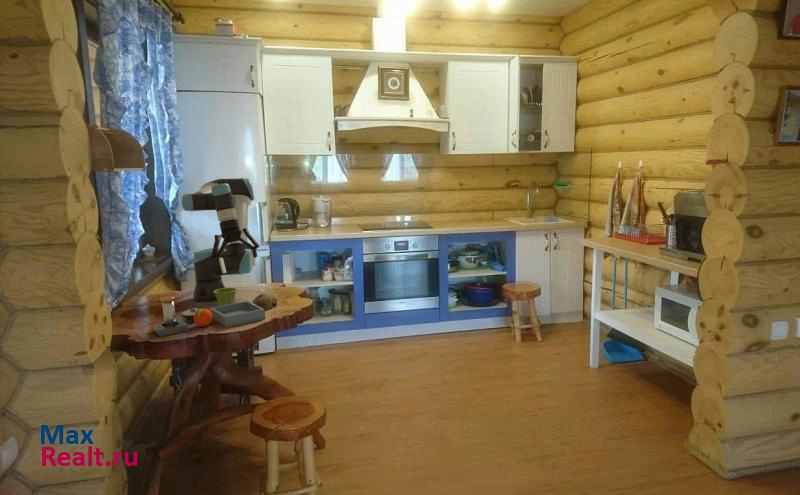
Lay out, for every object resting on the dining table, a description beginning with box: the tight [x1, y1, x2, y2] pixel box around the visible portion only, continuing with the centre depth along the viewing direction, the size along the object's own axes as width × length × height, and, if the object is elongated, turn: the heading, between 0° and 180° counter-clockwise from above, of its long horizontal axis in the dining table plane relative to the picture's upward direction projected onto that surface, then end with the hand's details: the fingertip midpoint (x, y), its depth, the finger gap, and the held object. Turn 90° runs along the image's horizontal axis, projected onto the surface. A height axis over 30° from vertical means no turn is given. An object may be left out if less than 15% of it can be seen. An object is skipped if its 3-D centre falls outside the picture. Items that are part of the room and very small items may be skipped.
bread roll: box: [251, 292, 278, 310], centre depth 213 cm, size 10×10×8 cm
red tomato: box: [193, 307, 214, 327], centre depth 188 cm, size 8×7×7 cm
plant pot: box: [214, 287, 238, 306], centre depth 211 cm, size 9×9×9 cm
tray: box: [209, 300, 266, 328], centre depth 198 cm, size 18×16×4 cm
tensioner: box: [153, 307, 201, 338], centre depth 191 cm, size 18×20×4 cm
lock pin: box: [159, 295, 177, 327], centre depth 184 cm, size 5×5×13 cm
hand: (239, 269), depth 205 cm, fingers open, 13 cm apart
